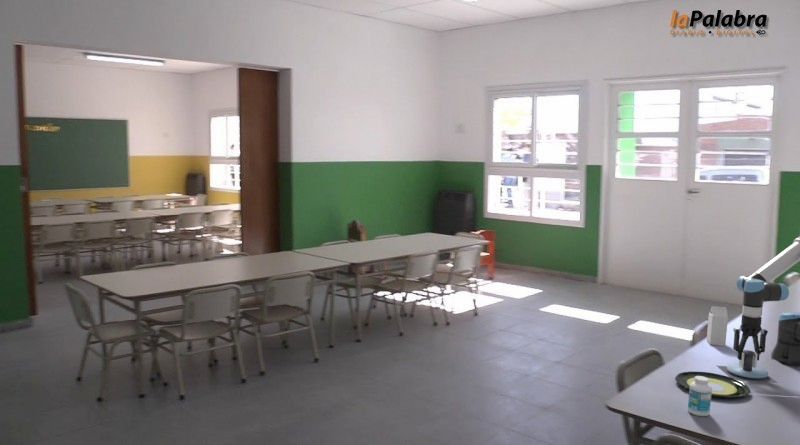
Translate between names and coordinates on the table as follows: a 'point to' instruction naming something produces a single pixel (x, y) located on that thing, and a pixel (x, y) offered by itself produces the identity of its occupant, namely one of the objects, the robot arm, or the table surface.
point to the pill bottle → (700, 396)
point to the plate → (730, 384)
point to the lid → (747, 367)
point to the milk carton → (717, 326)
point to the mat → (740, 378)
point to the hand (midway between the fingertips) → (747, 367)
